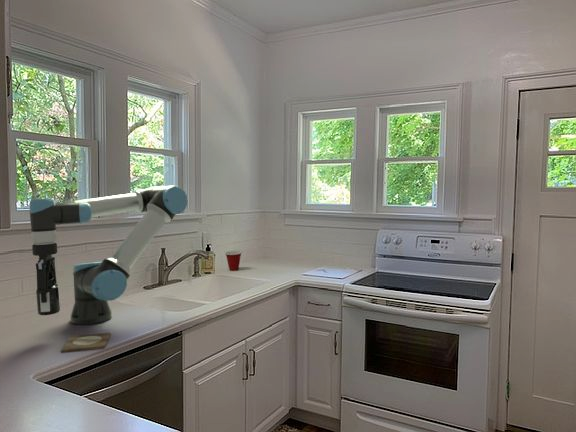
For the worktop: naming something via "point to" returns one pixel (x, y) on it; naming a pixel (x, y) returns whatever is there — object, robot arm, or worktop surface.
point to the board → (86, 342)
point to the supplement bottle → (52, 296)
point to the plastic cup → (233, 259)
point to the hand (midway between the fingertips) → (48, 308)
